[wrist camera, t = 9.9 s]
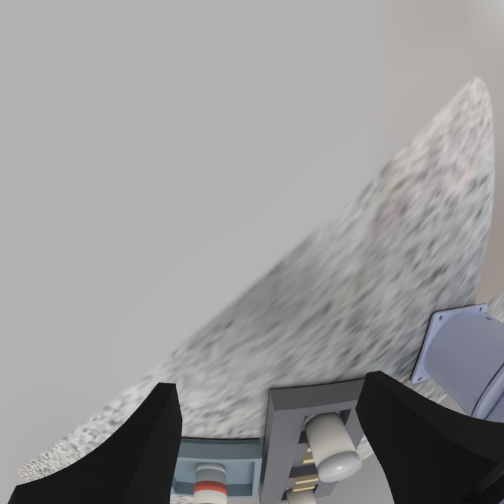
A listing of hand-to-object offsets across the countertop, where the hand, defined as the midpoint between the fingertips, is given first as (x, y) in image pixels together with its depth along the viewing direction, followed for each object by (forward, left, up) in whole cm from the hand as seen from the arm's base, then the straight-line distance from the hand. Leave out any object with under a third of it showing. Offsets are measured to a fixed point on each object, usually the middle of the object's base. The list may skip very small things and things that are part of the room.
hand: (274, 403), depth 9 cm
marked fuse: (+4, +20, -9) cm, 22 cm away
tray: (+4, +20, -9) cm, 22 cm away
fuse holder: (-6, +18, -9) cm, 21 cm away
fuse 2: (-6, +11, -8) cm, 15 cm away
